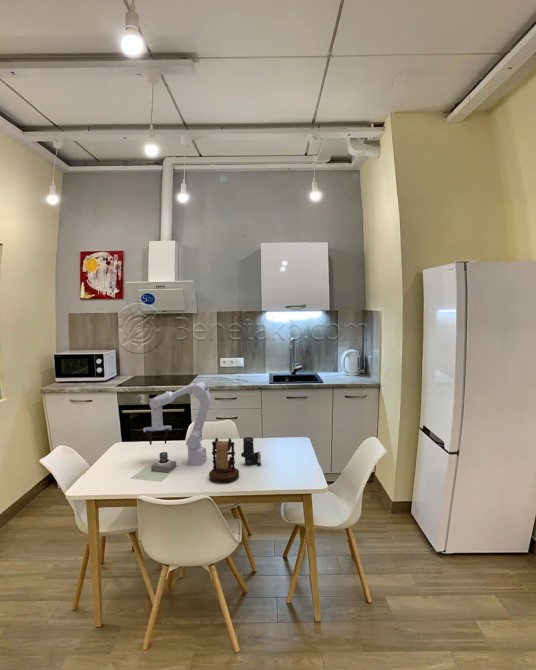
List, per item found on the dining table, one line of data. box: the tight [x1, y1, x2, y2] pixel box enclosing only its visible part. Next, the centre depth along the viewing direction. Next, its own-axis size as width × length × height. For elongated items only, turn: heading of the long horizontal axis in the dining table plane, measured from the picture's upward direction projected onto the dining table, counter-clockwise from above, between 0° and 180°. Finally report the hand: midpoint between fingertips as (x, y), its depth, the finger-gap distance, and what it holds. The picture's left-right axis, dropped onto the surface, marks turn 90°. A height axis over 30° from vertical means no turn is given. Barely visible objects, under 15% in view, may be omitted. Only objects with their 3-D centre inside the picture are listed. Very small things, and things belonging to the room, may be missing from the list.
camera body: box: [151, 458, 177, 473], centre depth 215 cm, size 10×8×4 cm
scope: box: [240, 436, 262, 466], centre depth 221 cm, size 8×14×10 cm
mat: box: [129, 462, 180, 483], centre depth 212 cm, size 17×20×1 cm
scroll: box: [208, 437, 240, 483], centre depth 204 cm, size 15×15×20 cm
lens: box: [159, 451, 169, 463], centre depth 215 cm, size 4×4×6 cm
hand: (158, 443), depth 225 cm, fingers open, 7 cm apart
